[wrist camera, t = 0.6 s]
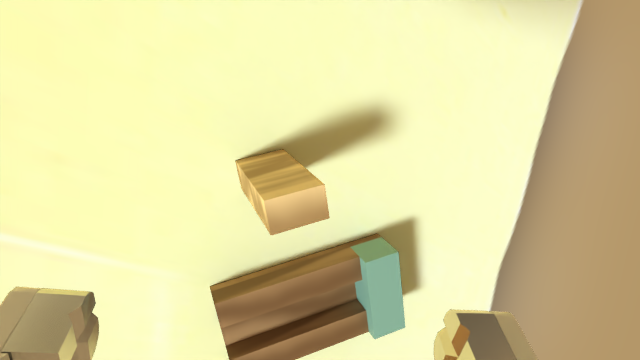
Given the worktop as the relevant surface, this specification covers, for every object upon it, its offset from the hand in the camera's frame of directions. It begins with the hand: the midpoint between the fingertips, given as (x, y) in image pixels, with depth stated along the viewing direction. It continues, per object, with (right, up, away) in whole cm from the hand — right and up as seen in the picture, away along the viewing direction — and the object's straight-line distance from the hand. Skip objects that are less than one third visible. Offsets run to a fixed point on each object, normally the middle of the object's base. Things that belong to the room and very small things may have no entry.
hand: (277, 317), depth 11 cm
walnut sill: (-1, -10, +43) cm, 44 cm away
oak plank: (-5, +4, +36) cm, 37 cm away
